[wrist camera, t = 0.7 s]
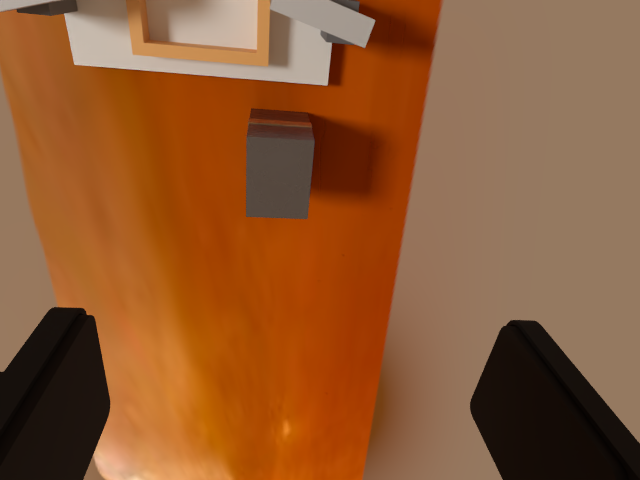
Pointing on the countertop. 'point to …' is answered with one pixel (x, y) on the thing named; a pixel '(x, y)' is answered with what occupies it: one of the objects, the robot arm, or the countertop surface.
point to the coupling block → (278, 164)
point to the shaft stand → (209, 35)
